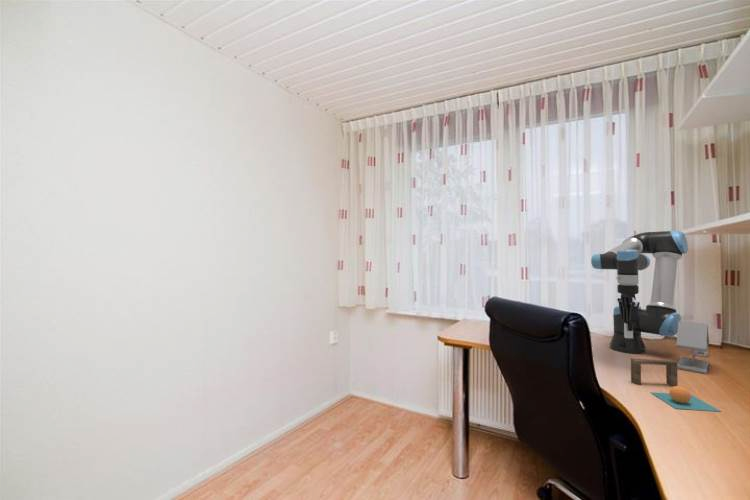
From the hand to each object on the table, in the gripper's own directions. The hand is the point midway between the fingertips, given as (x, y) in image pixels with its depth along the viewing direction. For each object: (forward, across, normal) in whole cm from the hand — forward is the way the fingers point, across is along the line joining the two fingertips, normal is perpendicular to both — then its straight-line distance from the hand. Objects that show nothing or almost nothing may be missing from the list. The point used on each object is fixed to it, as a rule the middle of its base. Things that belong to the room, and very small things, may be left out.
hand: (628, 337), depth 149 cm
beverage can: (+14, -28, +46) cm, 56 cm away
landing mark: (+14, +33, 0) cm, 36 cm away
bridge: (+14, +17, 0) cm, 22 cm away
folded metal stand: (+14, -8, +30) cm, 34 cm away
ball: (+11, +34, -2) cm, 36 cm away
